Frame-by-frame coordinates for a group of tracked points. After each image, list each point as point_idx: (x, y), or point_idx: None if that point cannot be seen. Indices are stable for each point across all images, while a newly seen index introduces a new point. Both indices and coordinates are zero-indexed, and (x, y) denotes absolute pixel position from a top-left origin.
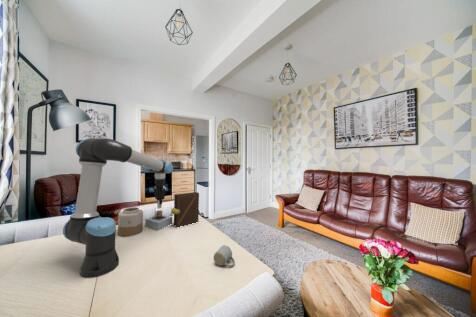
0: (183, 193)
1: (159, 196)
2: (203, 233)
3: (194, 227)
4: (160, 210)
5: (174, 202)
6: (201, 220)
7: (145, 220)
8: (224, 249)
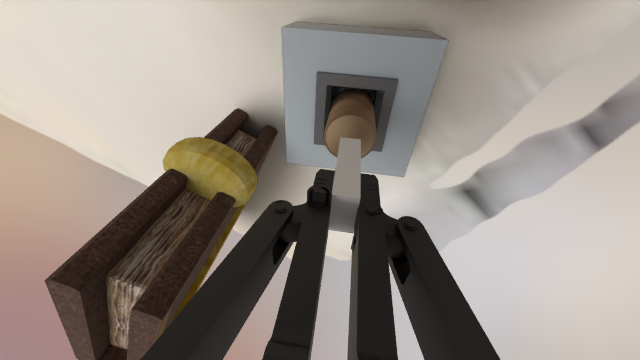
0: None
1: (316, 244)
2: (80, 104)
3: None
4: None
5: (204, 230)
6: None
7: (441, 38)
8: None
